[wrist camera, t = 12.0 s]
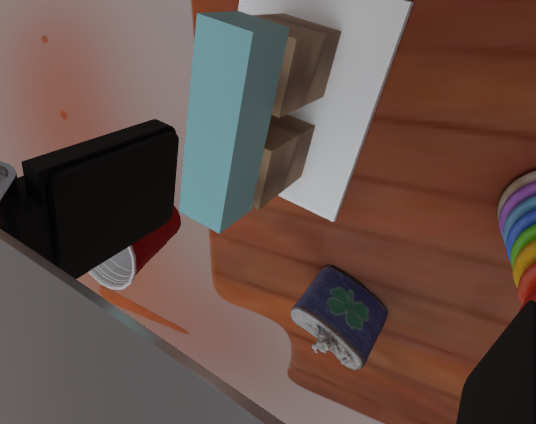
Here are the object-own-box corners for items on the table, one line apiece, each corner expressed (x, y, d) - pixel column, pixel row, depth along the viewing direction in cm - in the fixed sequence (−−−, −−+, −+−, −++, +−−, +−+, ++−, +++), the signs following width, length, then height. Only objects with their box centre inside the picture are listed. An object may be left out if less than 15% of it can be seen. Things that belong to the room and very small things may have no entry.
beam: (239, 11, 31) (197, 13, 27) (289, 27, 29) (253, 32, 25) (213, 190, 39) (178, 211, 36) (251, 209, 38) (219, 233, 34)
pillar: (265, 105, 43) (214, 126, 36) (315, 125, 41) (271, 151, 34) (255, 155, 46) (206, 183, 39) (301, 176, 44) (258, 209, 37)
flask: (318, 272, 50) (277, 327, 42) (330, 258, 48) (289, 311, 40) (381, 322, 48) (350, 388, 40) (395, 308, 47) (366, 375, 38)
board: (251, -41, 39) (245, -42, 38) (414, 2, 33) (411, 2, 33) (220, 163, 51) (215, 165, 50) (336, 218, 45) (333, 222, 45)
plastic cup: (200, 200, 55) (133, 241, 46) (190, 258, 61) (130, 305, 52) (140, 166, 58) (67, 198, 49) (137, 225, 65) (71, 263, 55)
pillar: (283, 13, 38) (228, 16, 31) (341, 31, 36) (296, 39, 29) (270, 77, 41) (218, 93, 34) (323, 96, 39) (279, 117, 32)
